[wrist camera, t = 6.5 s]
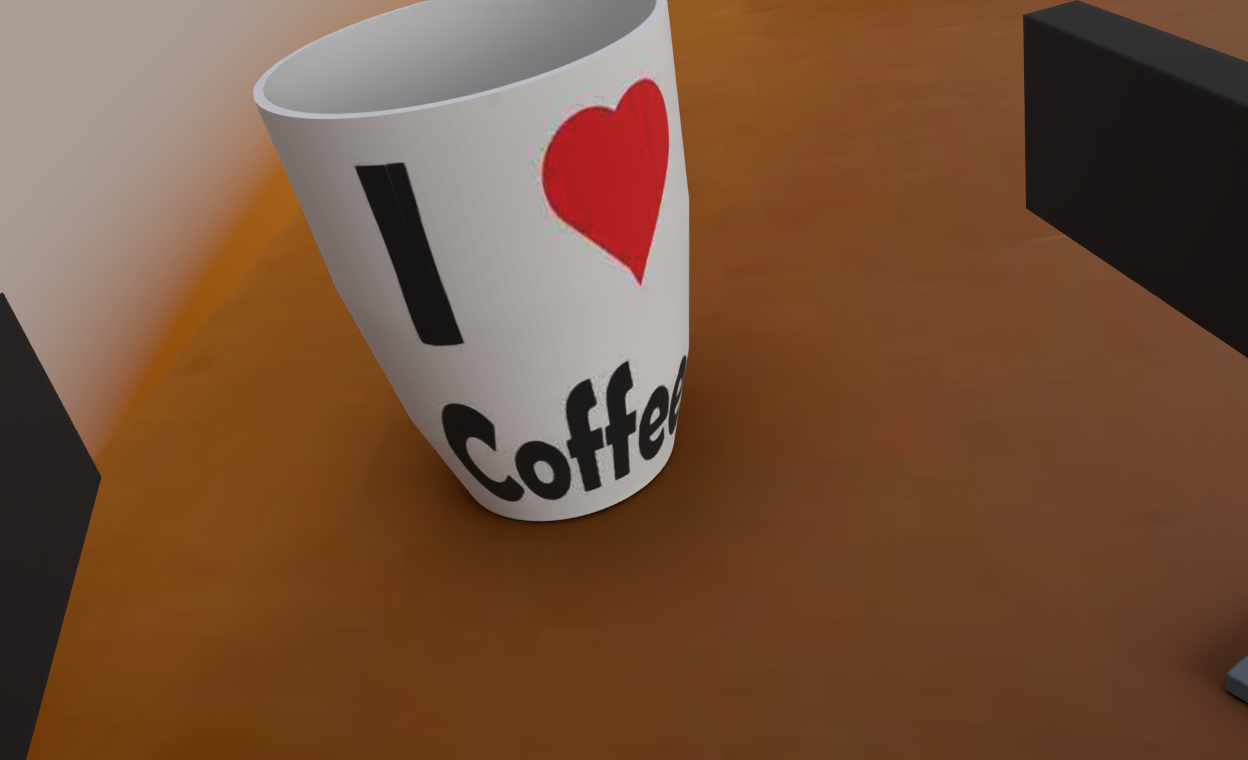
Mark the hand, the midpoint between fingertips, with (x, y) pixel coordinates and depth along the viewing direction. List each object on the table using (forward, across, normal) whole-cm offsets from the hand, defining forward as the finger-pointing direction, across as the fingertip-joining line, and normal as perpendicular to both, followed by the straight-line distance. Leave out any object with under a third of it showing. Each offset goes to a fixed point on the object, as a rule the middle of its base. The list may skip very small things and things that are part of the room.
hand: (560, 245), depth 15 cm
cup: (+9, 0, -10) cm, 14 cm away
